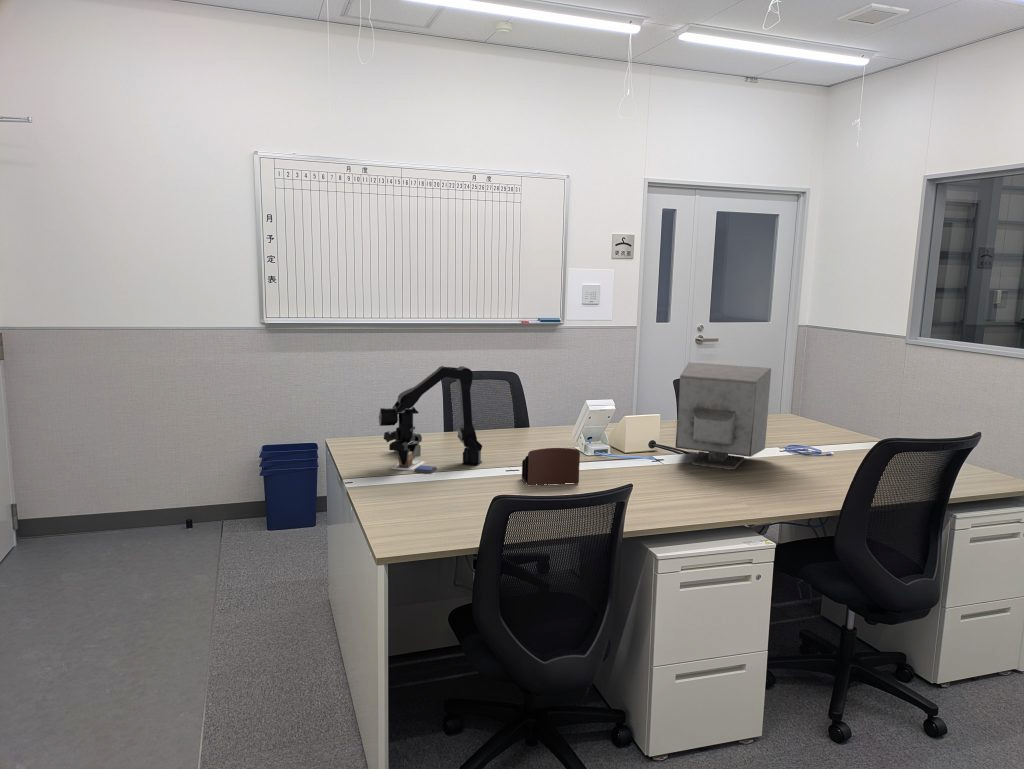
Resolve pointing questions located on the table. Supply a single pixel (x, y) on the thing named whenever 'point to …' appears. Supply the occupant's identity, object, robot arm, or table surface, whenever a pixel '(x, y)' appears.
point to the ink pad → (425, 469)
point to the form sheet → (411, 468)
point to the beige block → (408, 462)
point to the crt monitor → (722, 412)
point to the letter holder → (551, 466)
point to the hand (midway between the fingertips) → (405, 463)
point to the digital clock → (418, 448)
